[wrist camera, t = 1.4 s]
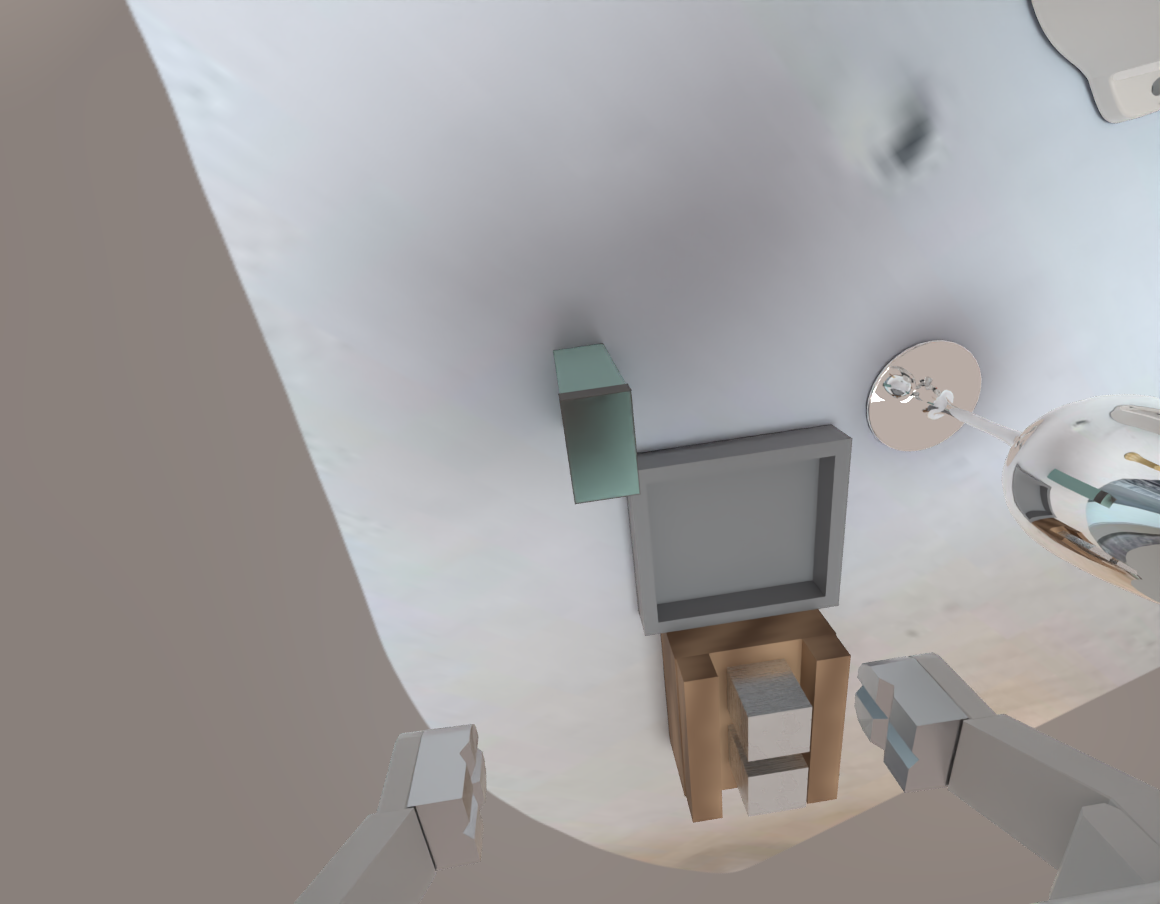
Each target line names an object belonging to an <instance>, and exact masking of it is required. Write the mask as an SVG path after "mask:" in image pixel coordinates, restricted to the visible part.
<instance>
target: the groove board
mask: <svg viewBox="0 0 1160 904" xmlns="http://www.w3.org/2000/svg"><path fill="white" fill-rule="evenodd" d="M661 642H662V654H663V666H664V678H665V689H666V701H667V713H668V725H669V736H670V742H671V746H672V750H673V753H674V757H675V761H676V765H677V769H678V772H679V776H680V780H681V784H682V787H683V791H684V795H685V796H686V798H687V801H688V805H689V809H690V813H691V816H692V820H693V823H694V822H700V821H706V820H712V819H718V818H723V817H722V790H726V789H732V788H738V786H737V784H736V781H735V778H734V775H733V773H732V770H731V767H730V764H729V748H728V725H730V724H733V722H732V720H731V717H730V715H729V712H728V705H727V667H733V666H739V665H746V664H752V663H758V662H765V661H771V660H777V659H785V660H786V662H787V664H788V666H789V667H790V669H791V671H792V673H793V674H794V676H795V678H796V679H797V681H798V683H799V685H800V686H801V688H802V690H803V692H804V693H805V695H806V697H807V699H808V700H809V702H810V704H811V705H812V720H811V735H810V751H809V752H805V753H801V754H802V756H803V758H804V760H805V762H806V764H807V766H808V782H807V798H806V802H807V804H809V803H815V802H821V801H827V800H833V799H837V790H838V780H839V770H840V759H841V749H842V739H843V729H844V719H845V709H846V698H847V688H848V678H849V668H850V658H851V655H850V654H849V653H848V651H847V650H846V649H845V647H844V646H843V644H842V643H841V642H840V640H839V639H838V638H837V636H836V633H835V631H834V630H833V629H832V627H831V626H830V625H829V623H828V622H827V620H826V619H825V618H824V616H823V615H822V614H821V612H820V611H819V610H818V609H814V610H808V611H801V612H795V613H789V614H782V615H776V616H769V617H763V618H757V619H750V620H744V621H737V622H731V623H725V624H718V625H712V626H705V627H699V628H693V629H686V630H680V631H673V632H667V633H661Z"/></svg>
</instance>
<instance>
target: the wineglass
mask: <svg viewBox="0 0 1160 904" xmlns="http://www.w3.org/2000/svg"><path fill="white" fill-rule="evenodd" d="M981 382H982V377H981V371H980V367H979V365H978V362H977V360H976V358H975V357H974V356H973V355H972V353H971V352H970V351H969V350H968V349H966V348H965V347H963V346H962V345H960V344H957V343H955V342H952V341H945V340H934V341H927V342H923V343H920V344H917V345H915V346H912V347H910V348H908V349H906V350H905V351H903V352H902V353H900V354H899V355H897V356H896V357H895V358H894V359H893V360H891V361H890V362H889V363H888V364H887V365H886V366H885V368H884V369H883V370H882V371H881V373H880V374H879V375H878V377H877V379H876V380H875V382H874V384H873V386H872V389H871V391H870V394H869V397H868V403H867V419H868V422H869V426H870V429H871V430H872V432H873V434H874V436H875V437H876V438H877V439H878V440H879V441H880V442H881V443H883V444H884V445H886V446H887V447H889V448H892V449H895V450H898V451H907V452H910V451H920V450H924V449H927V448H931V447H933V446H935V445H938V444H940V443H942V442H943V441H945V440H946V439H948V438H949V437H951V436H952V435H953V434H954V433H956V432H957V431H958V430H959V429H960V428H961V427H962V426H963V425H964V423H966V424H968V425H970V426H972V427H974V428H976V429H979V430H981V431H983V432H985V433H987V434H989V435H991V436H993V437H995V438H997V439H999V440H1001V441H1003V442H1004V443H1006V444H1007V445H1009V446H1010V447H1011V448H1010V450H1009V453H1008V455H1007V457H1006V459H1005V463H1004V466H1003V470H1002V487H1003V492H1004V496H1005V500H1006V504H1007V507H1008V509H1009V511H1010V513H1011V515H1012V516H1013V518H1014V519H1015V520H1016V522H1017V523H1018V524H1019V526H1020V527H1021V528H1022V529H1023V531H1024V532H1025V533H1026V534H1027V535H1028V536H1029V537H1030V538H1031V539H1033V540H1034V541H1035V542H1037V543H1038V544H1039V545H1041V546H1042V547H1043V548H1045V549H1046V550H1047V551H1049V552H1051V553H1052V554H1054V555H1056V556H1057V557H1059V558H1061V559H1063V560H1064V561H1066V562H1068V563H1070V564H1072V565H1073V566H1075V567H1077V568H1079V569H1081V570H1083V571H1085V572H1087V573H1089V574H1090V575H1092V576H1094V577H1096V578H1099V579H1101V580H1103V581H1105V582H1107V583H1109V584H1112V585H1114V586H1116V587H1119V588H1121V589H1123V590H1126V591H1128V592H1130V593H1133V594H1135V595H1137V596H1140V597H1142V598H1145V599H1147V600H1149V601H1152V602H1154V603H1156V604H1159V605H1160V398H1157V397H1152V396H1145V395H1137V394H1121V395H1102V396H1095V397H1091V398H1087V399H1083V400H1080V401H1076V402H1072V403H1069V404H1065V405H1062V406H1060V407H1058V408H1055V409H1053V410H1051V411H1049V412H1048V413H1046V414H1044V415H1043V416H1041V417H1040V418H1038V419H1037V420H1036V421H1034V422H1033V423H1032V424H1031V425H1030V426H1028V427H1027V428H1026V429H1025V430H1024V431H1023V432H1021V431H1018V430H1014V429H1010V428H1008V427H1005V426H1003V425H1000V424H997V423H995V422H993V421H990V420H988V419H986V418H983V417H981V416H979V415H976V414H974V413H972V412H973V411H974V409H975V406H976V404H977V402H978V399H979V395H980V391H981Z"/></svg>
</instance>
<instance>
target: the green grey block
mask: <svg viewBox="0 0 1160 904" xmlns="http://www.w3.org/2000/svg"><path fill="white" fill-rule="evenodd" d="M553 353H554V359H555V366H556V373H557V380H558V386H559V400H560V407H561V414H562V420H563V427H564V434H565V441H566V447H567V454H568V461H569V467H570V474H571V481H572V488H573V494H574V501H575V504H579V503H586V502H593V501H599V500H606V499H613V498H619V497H626V496H633V495H639V494H641V493H640V482H639V471H638V460H637V449H636V438H635V427H634V417H633V406H632V395H631V389H630V387H629V386H628V384H626V383H625V382H624V380H623V378H622V376H621V375H620V373H619V371H618V369H617V368H616V366H615V364H614V362H613V361H612V359H611V357H610V355H609V354H608V352H607V350H606V348H605V347H604V345H603V344H596V345H589V346H582V347H575V348H568V349H561V350H554V351H553Z"/></svg>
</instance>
